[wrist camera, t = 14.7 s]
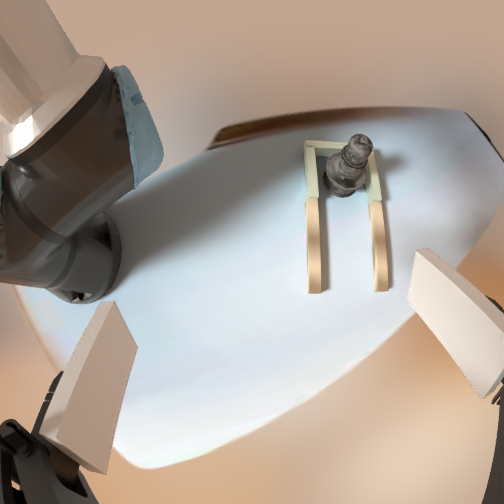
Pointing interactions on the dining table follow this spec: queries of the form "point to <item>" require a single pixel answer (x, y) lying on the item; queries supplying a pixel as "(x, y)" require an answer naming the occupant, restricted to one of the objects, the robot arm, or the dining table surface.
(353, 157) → the dark stone chess piece
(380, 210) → the channel
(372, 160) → the socket
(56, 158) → the robot arm
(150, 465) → the dining table surface
